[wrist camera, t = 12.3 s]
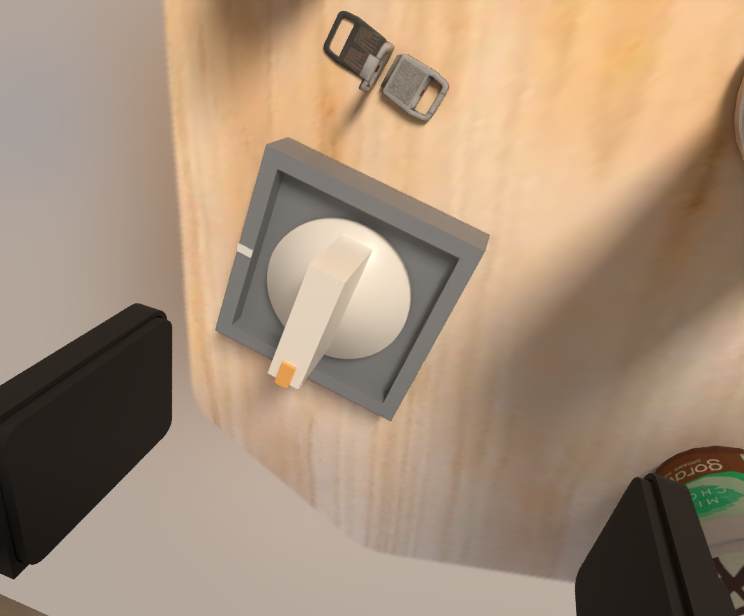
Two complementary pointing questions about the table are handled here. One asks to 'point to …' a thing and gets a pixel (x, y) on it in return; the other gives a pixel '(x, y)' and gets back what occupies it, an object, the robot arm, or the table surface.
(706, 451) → the food container
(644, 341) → the table surface
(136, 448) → the robot arm
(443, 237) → the dial plate
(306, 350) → the dial
